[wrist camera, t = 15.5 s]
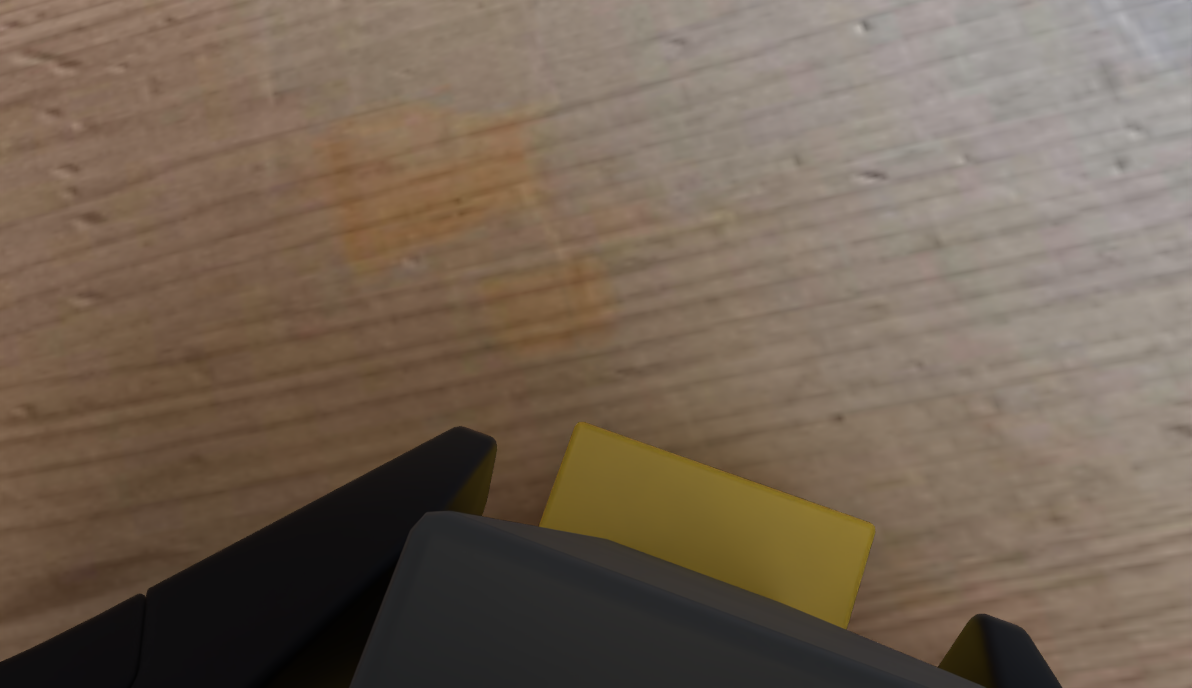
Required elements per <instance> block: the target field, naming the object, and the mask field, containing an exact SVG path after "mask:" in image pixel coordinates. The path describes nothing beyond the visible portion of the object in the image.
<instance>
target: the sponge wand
mask: <svg viewBox="0 0 1192 688" xmlns="http://www.w3.org/2000/svg"><path fill="white" fill-rule="evenodd" d="M874 535H875V526H874V525H873V524H871V523H870V522H867V521H864V520H861V519H859V518H856V517H853V516H850V515H847V514H844V513H842V512H839V511H836V510H833V509H830V508H827V507H824V506H822V505H819V504H816V503H813V502H810V501H807V500H805V499H802V498H799V497H796V496H793V495H790V494H787V493H785V492H782V491H779V490H776V489H773V488H770V487H768V486H765V485H762V484H759V483H756V482H753V481H751V480H748V479H745V478H742V477H739V476H736V475H733V474H731V473H728V472H725V471H722V470H719V469H716V468H714V467H711V466H708V465H705V464H702V463H699V462H697V461H694V460H691V459H688V458H685V457H682V456H679V455H677V454H674V453H671V452H668V451H665V450H662V449H660V448H657V447H654V446H651V445H648V444H645V443H642V442H640V441H637V440H634V439H631V438H628V437H625V436H623V435H620V434H617V433H614V432H611V431H608V430H606V429H603V428H600V427H597V426H594V425H591V424H588V423H586V422H578V423H577V424H576V425H575V427H574V430H573V433H572V435H571V438H570V441H569V444H568V446H567V449H566V452H565V455H564V457H563V460H562V463H561V466H560V468H559V471H558V474H557V477H556V479H555V482H554V485H553V488H552V490H551V493H550V496H549V499H548V501H547V504H546V507H545V510H544V512H543V515H542V518H541V521H540V523H539V526H532V525H527V524H521V523H516V522H510V521H505V520H499V519H494V518H488V517H482V516H477V515H471V514H466V513H460V512H455V511H435V512H426V513H425V514H424V515H423V517H422V518H421V519H420V520H419V521H418V522H417V523H416V524H415V525H414V526H413V527H412V529H411V530H410V532H409V534H408V537H407V539H406V542H405V545H404V547H403V550H402V552H401V555H400V557H399V560H398V563H397V565H396V568H395V570H394V573H393V576H392V578H391V581H390V583H389V586H388V588H387V591H386V594H385V596H384V599H383V601H382V604H381V606H380V609H379V612H378V614H377V617H376V619H375V622H374V624H373V627H372V630H371V632H370V635H369V637H368V640H367V643H366V645H365V648H364V650H363V653H362V655H361V658H360V661H359V663H358V666H357V668H356V671H355V673H354V676H353V679H352V681H351V684H350V686H349V688H986V687H984V686H981V685H979V684H976V683H974V682H972V681H969V680H967V679H964V678H962V677H960V676H957V675H955V674H952V673H950V672H947V671H945V670H943V669H940V668H938V667H935V666H933V665H931V664H928V663H926V662H923V661H921V660H918V659H916V658H914V657H911V656H909V655H906V654H904V653H901V652H899V651H897V650H894V649H892V648H889V647H887V646H885V645H882V644H880V643H877V642H875V641H872V640H870V639H868V638H865V637H863V636H860V635H858V634H856V633H853V632H851V631H848V630H847V626H848V623H849V620H850V616H851V613H852V609H853V606H854V603H855V599H856V596H857V593H858V589H859V586H860V582H861V579H862V576H863V572H864V569H865V566H866V562H867V559H868V555H869V552H870V549H871V545H872V542H873V539H874Z"/></svg>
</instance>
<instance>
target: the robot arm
mask: <svg viewBox="0 0 1192 688" xmlns="http://www.w3.org/2000/svg"><path fill="white" fill-rule="evenodd" d="M496 452H497V443H496V441H495V439H494V438H493V437H491V436H488V435H486V434H483V433H480V432H477V431H474V430H472V429H469V428H466V427H462V426H458V427H454V428H451V429H450V430H448V431H446V432H444V433H442V434H440V435H438V436H436V437H434V438H433V439H431V440H429V441H427V442H425V443H423V444H421V445H419V446H417V447H416V448H414V449H412V450H410V451H408V452H406V453H404V454H402V455H400V456H398V457H397V458H395V459H393V460H391V461H389V462H387V463H385V464H383V465H381V466H380V467H378V468H376V469H374V470H372V471H370V472H368V473H366V474H364V475H363V476H361V477H359V478H357V479H355V480H353V481H351V482H349V483H347V484H346V485H344V486H342V487H340V488H338V489H336V490H334V491H332V492H330V493H329V494H327V495H325V496H323V497H321V498H319V499H317V500H315V501H313V502H311V503H310V504H308V505H306V506H304V507H302V508H300V509H298V510H296V511H294V512H293V513H291V514H289V515H287V516H285V517H283V518H281V519H279V520H277V521H276V522H274V523H272V524H270V525H268V526H266V527H264V528H262V529H260V530H259V531H257V532H255V533H253V534H251V535H249V536H247V537H245V538H243V539H242V540H240V541H238V542H236V543H234V544H232V545H230V546H228V547H226V548H224V549H223V550H221V551H219V552H217V553H215V554H213V555H211V556H209V557H207V558H206V559H204V560H202V561H200V562H198V563H196V564H194V565H192V566H190V567H189V568H187V569H185V570H183V571H181V572H179V573H177V574H175V575H173V576H172V577H170V578H168V579H166V580H164V581H162V582H160V583H158V584H156V585H155V586H153V587H151V588H149V589H148V591H147V594H146V597H145V595H143V594H137V595H135V596H133V597H131V598H129V599H127V600H125V601H124V602H122V603H120V604H118V605H116V606H114V607H112V608H110V609H108V610H106V611H105V612H103V613H101V614H99V615H97V616H95V617H93V618H91V619H89V620H87V621H85V622H83V623H81V624H79V625H77V626H75V627H73V628H71V629H69V630H67V631H65V632H63V633H61V634H59V635H57V636H55V637H53V638H51V639H49V640H47V641H45V642H43V643H41V644H39V645H37V646H35V647H33V648H31V649H28V650H26V651H24V652H22V653H19V654H17V655H15V656H13V657H11V658H8V659H6V660H4V661H2V662H0V688H349V686H350V684H351V681H352V679H353V676H354V673H355V671H356V668H357V666H358V663H359V661H360V658H361V655H362V653H363V650H364V648H365V645H366V643H367V640H368V637H369V635H370V632H371V630H372V627H373V624H374V622H375V619H376V617H377V614H378V612H379V609H380V606H381V604H382V601H383V599H384V596H385V594H386V591H387V588H388V586H389V583H390V581H391V578H392V576H393V573H394V570H395V568H396V565H397V563H398V560H399V557H400V555H401V552H402V550H403V547H404V545H405V542H406V539H407V537H408V534H409V532H410V530H411V529H412V527H413V526H414V525H415V524H416V523H417V522H418V521H419V520H420V519H421V518H422V517H423V515H424V514H425V513H426V512H435V511H455V512H460V513H466V514H471V515H477V516H482V514H483V512H484V509H485V505H486V502H487V498H488V493H489V488H490V483H491V478H492V473H493V468H494V463H495V458H496ZM938 668H940V669H943V670H945V671H947V672H950V673H952V674H955V675H957V676H960V677H962V678H964V679H967V680H969V681H972V682H974V683H976V684H979V685H981V686H984V687H986V688H1062V686H1061V685H1060V683H1059V682H1058V680H1057V678H1056V677H1055V675H1054V674H1053V672H1052V671H1051V669H1050V668H1049V666H1048V664H1047V663H1046V661H1045V660H1044V658H1043V657H1042V655H1041V653H1040V652H1039V650H1038V649H1037V647H1036V646H1035V644H1034V643H1033V641H1032V639H1031V638H1030V636H1029V635H1028V634H1027V633H1026V631H1025V630H1024V629H1022V628H1021V627H1019V626H1017V625H1015V624H1012V623H1009V622H1006V621H1004V620H1001V619H998V618H995V617H993V616H990V615H987V614H977V615H975V616H974V617H972V618H971V619H970V620H969V621H968V623H967V624H966V626H965V627H964V629H963V630H962V632H961V633H960V635H959V636H958V638H957V639H956V641H955V642H954V644H953V645H952V647H951V648H950V650H949V651H948V652H947V654H946V655H945V657H944V658H943V660H942V661H941V663H940V665H939V666H938Z"/></svg>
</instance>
